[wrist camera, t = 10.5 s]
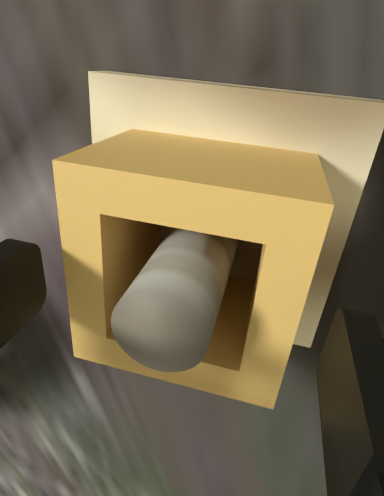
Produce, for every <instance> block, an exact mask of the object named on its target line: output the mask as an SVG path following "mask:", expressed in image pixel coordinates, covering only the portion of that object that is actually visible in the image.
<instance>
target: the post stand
mask: <svg viewBox="0 0 384 496" xmlns="http://www.w3.org/2000/svg"><path fill="white" fill-rule="evenodd" d="M88 77H89V95H90V113H91V131H92V144H94V143H97V142H99V141H102V140H104V139H107V138H109V137H112V136H115V135H117V134H120V133H122V132H125V131H127V130H130V129H139V130H147V131H154V132H162V133H169V134H176V135H184V136H191V137H198V138H206V139H213V140H221V141H228V142H235V143H243V144H250V145H258V146H265V147H272V148H280V149H287V150H294V151H302V152H309V153H317V154H318V157H319V160H320V163H321V166H322V169H323V172H324V175H325V178H326V181H327V184H328V187H329V190H330V193H331V196H332V199H333V202H334V208H333V212H332V215H331V218H330V222H329V225H328V228H327V232H326V235H325V238H324V242H323V245H322V248H321V252H320V255H319V258H318V262H317V265H316V268H315V272H314V275H313V278H312V282H311V285H310V288H309V292H308V295H307V298H306V302H305V305H304V308H303V311H302V315H301V318H300V321H299V325H298V328H297V331H296V335H295V338H294V341H293V344H295V345H300V346H304V347H308V348H310V347H311V344H312V341H313V338H314V335H315V332H316V329H317V326H318V324H319V321H320V318H321V315H322V312H323V309H324V306H325V303H326V300H327V297H328V294H329V291H330V288H331V285H332V282H333V279H334V276H335V273H336V270H337V267H338V264H339V261H340V258H341V255H342V252H343V249H344V246H345V243H346V240H347V237H348V234H349V231H350V228H351V225H352V222H353V219H354V216H355V213H356V210H357V207H358V204H359V201H360V198H361V195H362V192H363V189H364V186H365V183H366V180H367V177H368V174H369V171H370V168H371V165H372V162H373V159H374V156H375V153H376V150H377V147H378V145H379V142H380V139H381V136H382V133H383V130H384V101H383V100H378V99H368V98H359V97H350V96H340V95H331V94H321V93H312V92H302V91H293V90H283V89H274V88H264V87H255V86H246V85H236V84H227V83H217V82H208V81H198V80H189V79H179V78H170V77H160V76H151V75H141V74H132V73H123V72H113V71H88ZM261 245H262V244H260V243H255V242H250V241H244V240H239V239H233V238H228V237H222V236H217V235H212V234H206V233H201V232H195V231H190V230H184V229H179V228H174V227H168V226H163V225H160V227H159V247H158V248H157V249H156V251H155V252H154V253H153V255H152V256H151V258H150V259H149V260H148V262H147V263H146V264H145V266H144V267H143V269H142V270H141V271H140V273H139V274H138V275H137V277H136V278H135V280H134V281H133V282H132V284H131V285H130V287H129V288H128V289H127V291H126V292H125V293H124V295H123V296H122V298H121V299H120V300H119V302H118V303H117V304H116V306H115V308H114V310H113V312H112V316H111V328H112V332H113V335H114V337H115V339H116V341H117V343H118V344H119V346H120V347H121V348H122V349H123V350H124V352H125V353H126V354H128V355H129V356H130V357H131V358H132V359H134V360H135V361H137V362H138V363H140V364H142V365H144V366H146V367H148V368H151V369H154V370H157V371H162V372H182V371H186V370H189V369H191V368H193V367H195V366H196V365H198V364H199V363H200V362H201V361H202V360H203V359H204V357H205V355H206V353H207V351H208V347H209V344H210V340H211V337H212V333H213V330H214V326H215V323H216V319H217V316H218V312H219V309H220V305H221V302H222V298H223V295H224V291H225V288H226V284H227V281H228V277H229V275H230V276H235V277H240V278H245V279H250V280H254V279H255V274H256V270H257V265H258V260H259V255H260V250H261Z"/></svg>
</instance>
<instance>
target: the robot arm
mask: <svg viewBox="0 0 384 496" xmlns="http://www.w3.org/2000/svg"><path fill="white" fill-rule="evenodd" d="M45 298H46V284H45V277H44V270H43V263H42V256H41V251H40V248H39V247H38V245H36V244H34V243H29V242H24V241H19V240H14V239H6V240H4V241H2V242H1V243H0V348H2V347H3V346H4V345H5V344H6V343H7V342H8V341H9V340H10V339H11V338H12V337H13V336H14V335H15V334H16V333H17V332H18V331H19V330H20V329H21V328H22V327H23V326H24V325H25V324H26V323H27V322H28V321H29V320H30V319H31V318H32V317H33V316H34V315H35V314H36V313H37V312H38V311H39V310H40V309H41V307H42V306H43V304H44V301H45ZM317 386H318V397H319V408H320V419H321V430H322V441H323V453H324V464H325V475H326V486H327V496H384V339H382V336H381V333H380V330H379V327H378V324H377V321H376V319H375V317H374V316H373V315H371V314H366V313H361V312H357V311H352V310H347V309H342V308H338V309H337V311H336V313H335V315H334V317H333V320H332V323H331V326H330V329H329V331H328V334H327V337H326V340H325V343H324V345H323V348H322V351H321V354H320V357H319V362H318V368H317Z"/></svg>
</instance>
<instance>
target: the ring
mask: <svg viewBox="0 0 384 496" xmlns="http://www.w3.org/2000/svg"><path fill="white" fill-rule="evenodd" d="M52 163H53V172H54V181H55V190H56V199H57V208H58V217H59V226H60V235H61V244H62V253H63V262H64V271H65V280H66V289H67V298H68V307H69V316H70V325H71V334H72V343H73V352H74V357H77V358H81V359H85V360H89V361H92V362H96V363H100V364H104V365H107V366H111V367H115V368H119V369H123V370H126V371H130V372H134V373H138V374H141V375H145V376H149V377H153V378H156V379H160V380H164V381H168V382H172V383H175V384H179V385H183V386H187V387H190V388H194V389H198V390H202V391H205V392H209V393H213V394H217V395H221V396H224V397H228V398H232V399H236V400H239V401H243V402H247V403H251V404H254V405H258V406H262V407H266V408H270V409H273V408H274V405H275V401H276V398H277V395H278V391H279V388H280V385H281V381H282V378H283V375H284V371H285V368H286V365H287V361H288V358H289V355H290V351H291V348H292V345H293V341H294V338H295V335H296V331H297V328H298V325H299V321H300V318H301V315H302V311H303V308H304V305H305V302H306V298H307V295H308V292H309V288H310V285H311V282H312V278H313V275H314V272H315V268H316V265H317V262H318V258H319V255H320V252H321V248H322V245H323V242H324V238H325V235H326V232H327V228H328V225H329V222H330V218H331V215H332V212H333V208H334V202H333V199H332V196H331V193H330V190H329V187H328V184H327V181H326V178H325V175H324V172H323V169H322V166H321V163H320V160H319V157H318V154H317V153H309V152H302V151H294V150H287V149H280V148H272V147H265V146H258V145H250V144H243V143H235V142H228V141H221V140H213V139H206V138H198V137H191V136H184V135H176V134H169V133H162V132H154V131H147V130H139V129H130V130H127V131H125V132H122V133H120V134H117V135H115V136H112V137H109V138H107V139H104V140H102V141H99V142H97V143H94V144H92V145H89V146H87V147H84V148H81V149H79V150H76V151H74V152H71V153H69V154H66V155H64V156H61V157H59V158H56V159H53V160H52ZM160 225H163V226H168V227H174V228H179V229H184V230H190V231H195V232H201V233H206V234H212V235H217V236H222V237H228V238H233V239H239V240H244V241H250V242H255V243H260V244H262V245H261V250H260V255H259V260H258V265H257V270H256V274H255V279H254V280H250V279H245V278H240V277H235V276H230V275H229V277H228V281H227V284H226V288H225V291H224V295H223V298H222V302H221V305H220V309H219V312H218V316H217V319H216V323H215V326H214V330H213V333H212V337H211V340H210V344H209V347H208V351H207V353H206V355H205V357H204V359H203V360H202V361H201V362H200V363H199V364H198V365H196V366H195V367H193V368H191V369H189V370H186V371H182V372H162V371H157V370H154V369H151V368H148V367H146V366H144V365H142V364H140V363H138V362H137V361H135V360H134V359H132V358H131V357H130V356H129V355H128V354H126V353H125V352H124V350H123V349H122V348H121V347H120V346H119V344H118V343H117V341H116V339H115V337H114V335H113V332H112V328H111V316H112V312H113V310H114V308H115V306H116V304H117V303H118V302H119V300H120V299H121V298H122V296H123V295H124V293H125V292H126V291H127V289H128V288H129V287H130V285H131V284H132V282H133V281H134V280H135V278H136V277H137V275H138V274H139V273H140V271H141V270H142V269H143V267H144V266H145V264H146V263H147V262H148V260H149V259H150V258H151V256H152V255H153V253H154V252H155V251H156V249H157V248H158V247H159V227H160Z"/></svg>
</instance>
